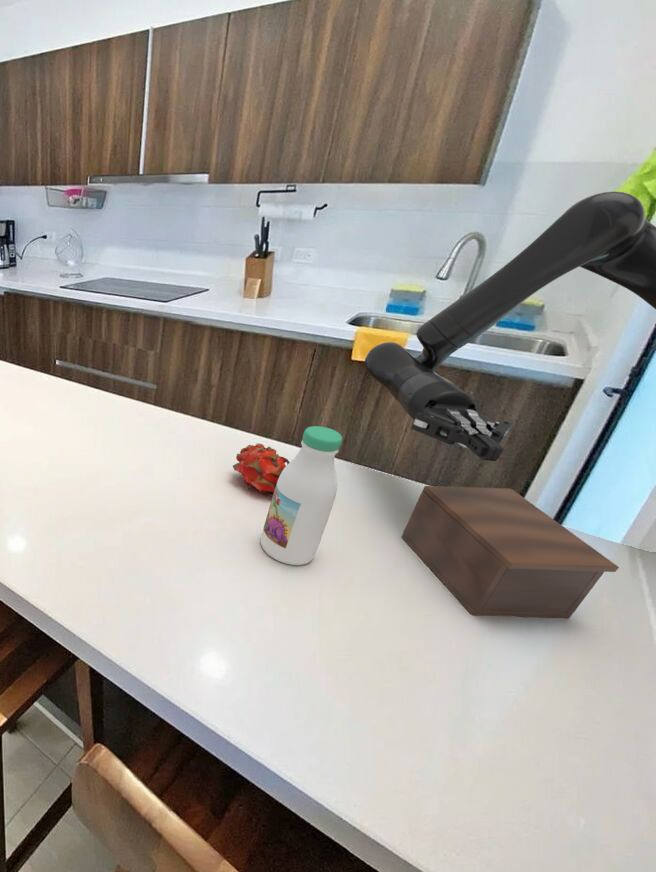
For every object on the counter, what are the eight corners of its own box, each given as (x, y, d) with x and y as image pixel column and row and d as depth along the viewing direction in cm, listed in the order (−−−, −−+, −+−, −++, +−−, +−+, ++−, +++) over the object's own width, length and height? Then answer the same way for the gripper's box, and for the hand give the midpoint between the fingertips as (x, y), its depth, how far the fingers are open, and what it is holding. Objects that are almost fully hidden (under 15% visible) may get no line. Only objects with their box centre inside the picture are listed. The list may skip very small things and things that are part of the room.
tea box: (569, 618, 65) (608, 567, 61) (471, 615, 65) (502, 563, 61) (482, 539, 79) (508, 493, 74) (400, 536, 79) (422, 490, 74)
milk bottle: (309, 538, 78) (349, 424, 68) (318, 571, 71) (363, 450, 62) (257, 529, 80) (289, 416, 70) (261, 560, 73) (296, 441, 63)
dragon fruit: (228, 476, 96) (285, 513, 89) (216, 468, 89) (276, 506, 82) (255, 440, 95) (314, 474, 88) (244, 428, 88) (307, 464, 81)
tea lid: (615, 572, 60) (619, 567, 59) (508, 568, 60) (511, 563, 59) (508, 492, 74) (511, 488, 74) (422, 490, 74) (424, 485, 74)
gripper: (397, 376, 80) (449, 424, 65) (489, 384, 78) (565, 435, 63) (381, 418, 83) (427, 472, 69) (469, 427, 81) (536, 485, 66)
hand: (493, 454), depth 66 cm, fingers closed
